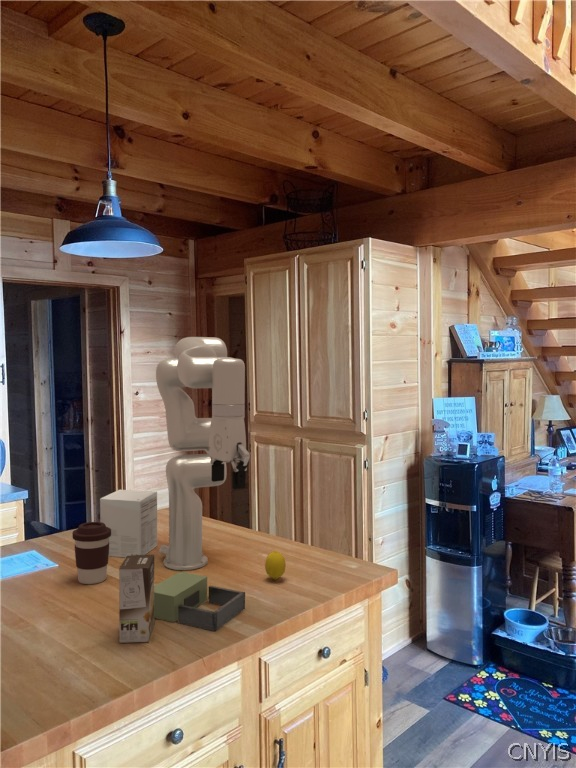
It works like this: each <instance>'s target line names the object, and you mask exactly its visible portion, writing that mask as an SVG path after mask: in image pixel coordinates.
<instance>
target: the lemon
mask: <svg viewBox="0 0 576 768" xmlns="http://www.w3.org/2000/svg"><path fill="white" fill-rule="evenodd" d="M264 567H265V572H266V574H267V575H268V577H270V578H272V579H273V580H274V581H276V580H278V579H279V578H281V577H282V576H283V575H284V573H285V571H286V560H285V556H284V555H283V554H282V553H281V552H279V551H277V550H273V551H272V552H271V553H269V554H268V555H267V557H266V558H265V562H264Z"/></svg>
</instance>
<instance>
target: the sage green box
mask: <svg viewBox="0 0 576 768" xmlns="http://www.w3.org/2000/svg"><path fill="white" fill-rule="evenodd" d="M207 601H208V576H206V575H201V574H195V573H189V572H185V571H179V572H177V573H175V574H173V575H171V576H169V577H167V578H166V579H164V580H162V581H160V582H159V583H156V584H154V619H156V620H157V619H159V620H163V621H167V622H171V623H176V622H178V606H179V605H180V604H181V605H185V606H190V607H195V608H199V607H200V606H201V605H203V604H204V603H206V602H207Z"/></svg>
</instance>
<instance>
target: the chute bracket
mask: <svg viewBox="0 0 576 768" xmlns="http://www.w3.org/2000/svg"><path fill="white" fill-rule="evenodd" d="M207 601H208V602H209V604H214V605H219V606H220V607H219V608H217V609H216V610H214V611H213V610H208V609H203V608H199V607H196V608H195V607H190V606H185V605H181V604H180V605H179V606H178V620H177V622H178V624H180V625H181V624H182V625H186V626H190V627H193V628H194V627H195V628H199V629H203V630H208V631H210V632H211V631H212V632H217V631H218V630H219V629H221V628H222V627H223V626H224V625H226V624H227V623H228V622H229V621H231V620H232V619H233V618H235V617H236V616H238V615H239V614H240V613H241V612H243V611H244V610H245V609H246V592H245V591H240V590H236V589H230V588H225V587H220V586H216V585H215V586H213V585H209V586H208V597H207Z"/></svg>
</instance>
